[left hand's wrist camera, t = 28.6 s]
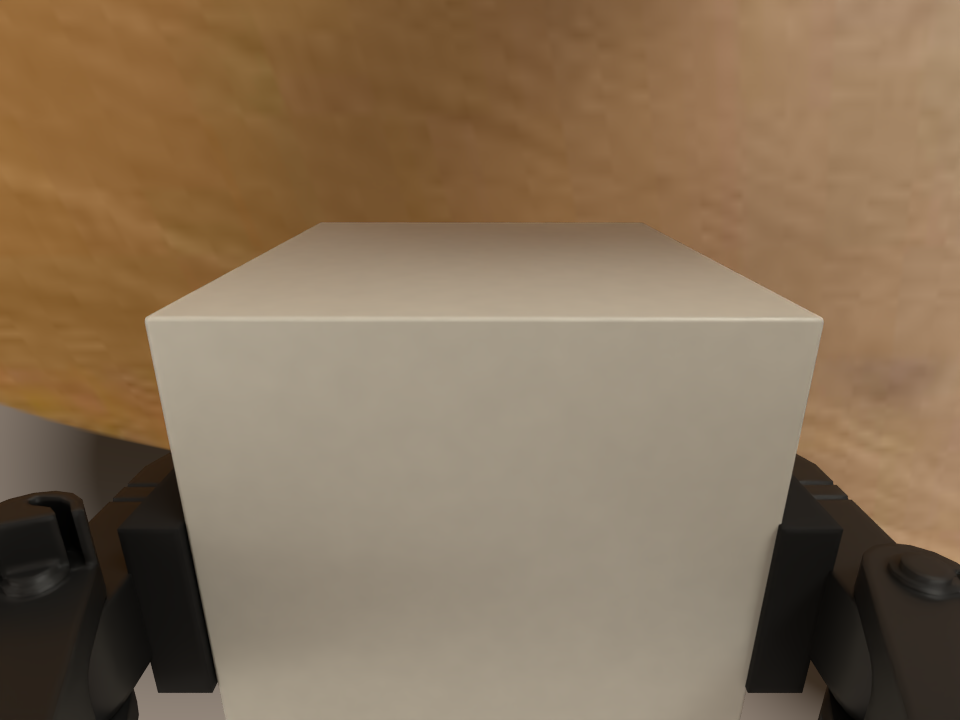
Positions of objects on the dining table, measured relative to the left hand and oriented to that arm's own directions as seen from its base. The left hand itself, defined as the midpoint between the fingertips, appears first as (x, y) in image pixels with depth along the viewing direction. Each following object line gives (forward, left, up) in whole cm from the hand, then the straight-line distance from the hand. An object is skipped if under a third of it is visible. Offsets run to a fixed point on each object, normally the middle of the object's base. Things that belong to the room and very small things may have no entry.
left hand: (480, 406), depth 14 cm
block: (0, 0, -1) cm, 1 cm away
